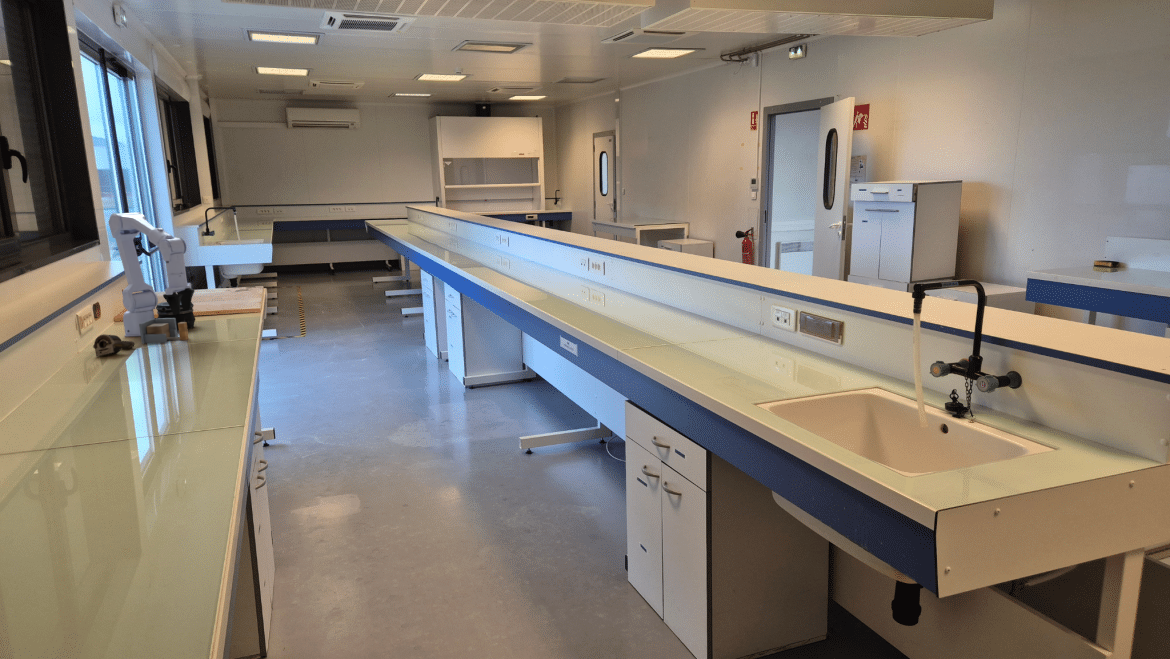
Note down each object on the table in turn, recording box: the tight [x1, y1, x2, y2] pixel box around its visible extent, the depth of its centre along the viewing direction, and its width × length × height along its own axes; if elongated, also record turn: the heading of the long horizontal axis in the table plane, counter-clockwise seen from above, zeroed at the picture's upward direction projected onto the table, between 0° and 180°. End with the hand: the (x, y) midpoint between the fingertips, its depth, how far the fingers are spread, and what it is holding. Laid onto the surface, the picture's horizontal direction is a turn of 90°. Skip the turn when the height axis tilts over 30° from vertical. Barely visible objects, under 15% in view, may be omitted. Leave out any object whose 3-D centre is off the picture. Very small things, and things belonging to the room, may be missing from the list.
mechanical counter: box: [92, 334, 135, 357], centre depth 240 cm, size 7×13×10 cm
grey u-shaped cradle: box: [139, 318, 179, 345], centre depth 257 cm, size 8×10×7 cm
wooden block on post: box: [147, 322, 190, 341], centre depth 258 cm, size 12×5×6 cm, turn 93°
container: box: [155, 301, 196, 332], centre depth 278 cm, size 13×13×10 cm
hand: (181, 312), depth 257 cm, fingers open, 7 cm apart
